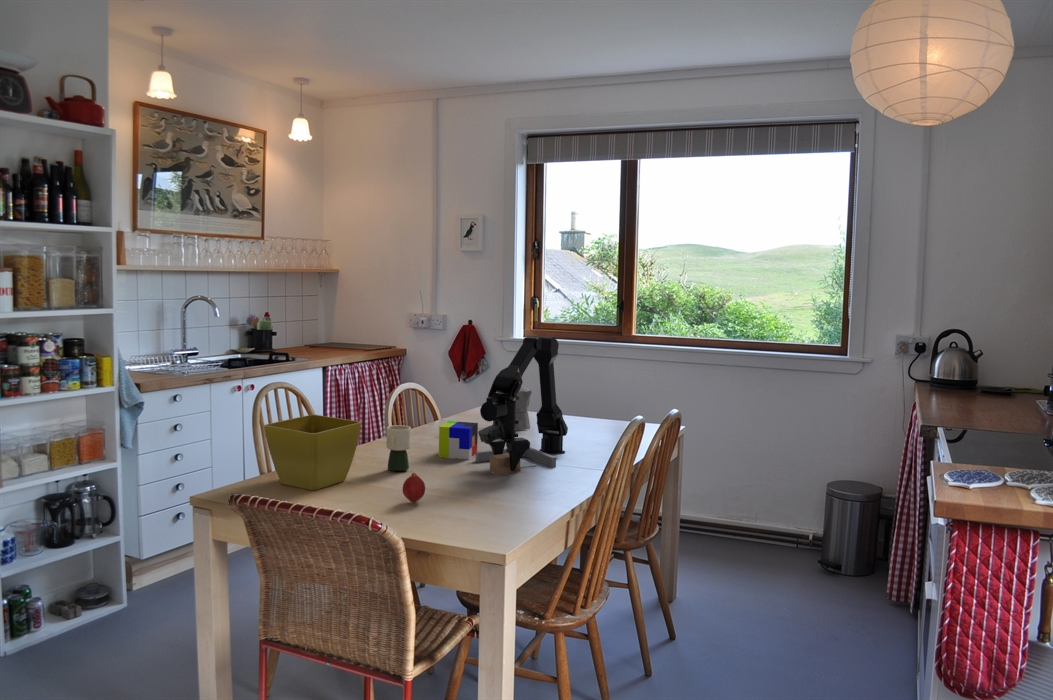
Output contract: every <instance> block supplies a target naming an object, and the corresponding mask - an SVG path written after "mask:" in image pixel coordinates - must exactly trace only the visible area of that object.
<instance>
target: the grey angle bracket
mask: <svg viewBox="0 0 1053 700" xmlns="http://www.w3.org/2000/svg"><path fill="white" fill-rule="evenodd" d="M505 449H507V447H506V448H504V451H503V454H506V453H508V452H507V451H506V450H505ZM492 455H493V451H492V449H490V450H489V449H488V450H482V451H477V452H476V454H475V462H476V463H481V462H482V461H484V462H490V456H492ZM525 456H526V458H527V459H531V460H533V461H536V462H538V463H541V464H542V465H545V466H547V467H550V468H555V467H557V456H554V455H552V454H547V453H544V452H542V451H539V449H536V448H533V447H531V446H530V449H527V451H525V452H524V454H523V456H522V457H521V458H524V457H525Z"/></svg>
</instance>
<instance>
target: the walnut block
mask: <svg viewBox="0 0 1053 700" xmlns="http://www.w3.org/2000/svg"><path fill="white" fill-rule="evenodd" d="M521 459H522V458H521ZM521 459H520V460H521ZM492 472H493V473H492ZM513 472H514V473H520V472H521V468H520V461H519V463H518V465H517V467H516V469H515V471H511V469H510V458H509V453H506V454H499V455H492V456H490V461H489V473H492V474H494V473H495V474H494V475H497V474H498V475H497V476H500V475H499V474H502V475H507V474H506V473H508V474H513Z"/></svg>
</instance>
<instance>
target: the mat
mask: <svg viewBox="0 0 1053 700" xmlns="http://www.w3.org/2000/svg"><path fill="white" fill-rule="evenodd" d="M536 466H537V465H536V464H535V463H533V462H529V461H527V460H525V459H523V458H521V460H520V469H522V468H523V469H524V468H531V467H532V468H533V467H536Z"/></svg>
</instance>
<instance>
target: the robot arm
mask: <svg viewBox="0 0 1053 700" xmlns="http://www.w3.org/2000/svg"><path fill="white" fill-rule="evenodd" d="M558 354H559V341H558V339H556V338H555V337H554V336H540V335H536V336H526V337H524V338H523V339H522V344H521V346H520V347H519V349H518V350H517V352H516V354H515V355H514V357H513V359H512V360H511V362H510V363H509V364H508V366H507V367H504V368H503V369H501V370H500V371H499V372H498V373H497V374H496V376H495V377H494V379H493V382H492V384H491V387H490V390H489V392H488V394H487V397H486V400H485V402H484V403H482V405H481V406H480V408H479V411H480V417H481V418H482V419H483V420H484V421H486V422H492V425H489V426H486V427H484V428H482V429H480V430H478V436H479V439H480V442H481V443H485V445H489V446H490V448H491V450H492V451H493V455H499V454H503V451H504V449H505V450H506V451H507V452H508V453H509V458H510V469H511V471H515V469H516V467H517V465H518V463H519V461H520V459H522V458H523V457H522V456H523V454H524V452H525V451H527V449H530V447H531V442H530V441H529V439H526V438H525V437H519V433H517V432H516V431H517V430H516V424H519V420H516V400H519V397H518V396H517V393H518V392H519V390H520V388H521V387H522V385H523V383H524V382H523V375H524V373H525V371H526V370H527V369H528V367H529V365H530V363H531V361H533V359H534V361H536V363H537V364H538V365H537V366H538V373H539V375H538V377H539V387H540V388H539V390H540V400H541V407H540V409H539V410H538V411H537V413H536V424H537V431H538V432H537V433H538V434H542V436H541V441H540V448H539V449H538V451H541V452H544V453H546V454H549V455H555V454H557V455H558V454H565V453H566V450H563V449H564V448H563V447H564V446H563V445H564V437H566V436H567V434H568V431H569V428H568V425H567V423H566V421H565V420H564V416H563V411H562V410H561V408H560V407H559V405H558V403H557V394H556V393H557V392H556V378H555V367H554V363H555V360H556V358H557V357H558ZM503 393H504V394H503ZM505 447H506V448H507V449H506V448H505Z"/></svg>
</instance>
